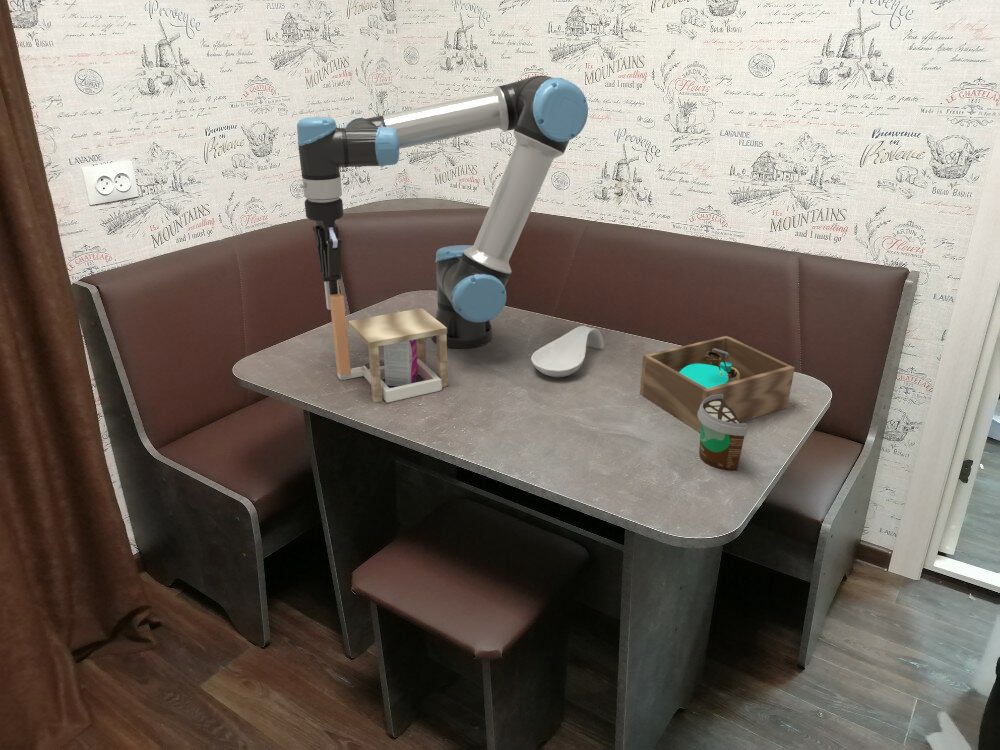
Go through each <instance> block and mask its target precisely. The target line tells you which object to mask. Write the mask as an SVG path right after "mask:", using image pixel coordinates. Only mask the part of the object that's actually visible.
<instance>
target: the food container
mask: <svg viewBox="0 0 1000 750" xmlns="http://www.w3.org/2000/svg"><path fill="white" fill-rule="evenodd" d="M697 416H698V419H699V420H700V421H701V426H700V433H699V452H698V453H699V454H698V455H699V459H701V461H702V462H703V463H705V464H706V465H708V466H710V467H712V468H714V469H717V470H721V471H726V472H727V471H728V472H737V471H738V467H739V464H740V460H741V459H740V457H741V454H742V449H743V444H744V441H745V437H747V436H748V435H747V434H748V431H747V430H748V425H747V424H748V423H742V421H741V422H740V421H739V420H738V418H737V416H736V414H735V413H734V411H733V410H732V409H731V408H730V407H728V406H727V404H726V403H725V402H724V400H723V394H718V395H713V396H710V397H708V398H706V399H705V400H704V401H703V403H702V404H701V405H700V408H699V410H698V414H697Z"/></svg>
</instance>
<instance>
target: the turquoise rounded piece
mask: <svg viewBox="0 0 1000 750" xmlns="http://www.w3.org/2000/svg"><path fill="white" fill-rule="evenodd" d="M717 352H718V353H717ZM719 353H721V354H724V355H726V357H725V358H726V359H728V358H729V353H728V352H725V351H722V350H719V349H716V348H713V349H712V351H707V352H706V354H705V358H706V359H707V360H709V361H711V362H710V365H707V364H691V365H688V366H686V367H684V368H683V369H682V370H681V371H680V372H679V373H681V374H683V375H684V376H686V377H688V378H690V379H691V380H693V381H695V382H697V383H698V384H700V385H702V386H704V387H706V388H711V387H714V386H718V385H722V384H725V383H729V382H733V381H736V380H740V373H739V372H738V370H737V369H735V368H733V367H732V364H731V363H728V362H725V361H723V360H721V359H722V356H721V355H720V354H719ZM709 354H711V357H710V356H709ZM714 356H716V357H718V359H714ZM722 361H723V362H722ZM720 362H721V363H720ZM713 363H718V366H719V367H717V366H713Z"/></svg>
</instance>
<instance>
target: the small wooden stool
mask: <svg viewBox="0 0 1000 750" xmlns="http://www.w3.org/2000/svg"><path fill="white" fill-rule="evenodd" d="M347 324H348V327H349V328H350V329H351V330H352V332H354V334H355V335H356V336H358V338H359V339H360V340H361V341H362V342H363V344H365V345H366V346H367V349H368V363H369V364H370V376H371V384H370V386H371V387H370V388H371V396H372V399H371V400H372V401H373V402H374V403H380V402H383V398H382V390H381V376H380V363H379V361H380V352H379V347H382V346H383V347H384V345H389V344H394V343H399V342H404V341H409V340H415V339H416V342H417V359H420V360H421V361H422V362H423V363H424V364H425V365H426V366H427V356H426V355H427V353H426V352H427V351H426V350H427V349H426V348H427V347H426V338H430V337H432V336H435V335H436V338H437V343H436V361H437V364H436V365H437V376H438V377H439V378H440V379H441V383H442V388H446V387H448V386H449V379H448V377H449V375H448V373H449V372H448V347H447V338H446V333H447V327H445V326H444V325H443V324H441V323H440V322H439V321H438V320H436V319H435V316H432V314H430V313H429V312H428V311H426V310H425V309H424V308H422V307H421V308H414V309H408V310H404V311H403V310H402V311H397V312H391V313H386V314H385V313H384V314H380V315H375V316H369V317H364V318H363V317H362V318H357V319H356V318H355V319H352V320H348V323H347Z"/></svg>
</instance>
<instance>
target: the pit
mask: <svg viewBox="0 0 1000 750" xmlns="http://www.w3.org/2000/svg"><path fill="white" fill-rule="evenodd" d="M379 363H380V367H381V366H385V365H384V360H382V359H381V360H379ZM364 366H365V367H366V368H367V369H370V364H369V362H367V363H365V364H364Z"/></svg>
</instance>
